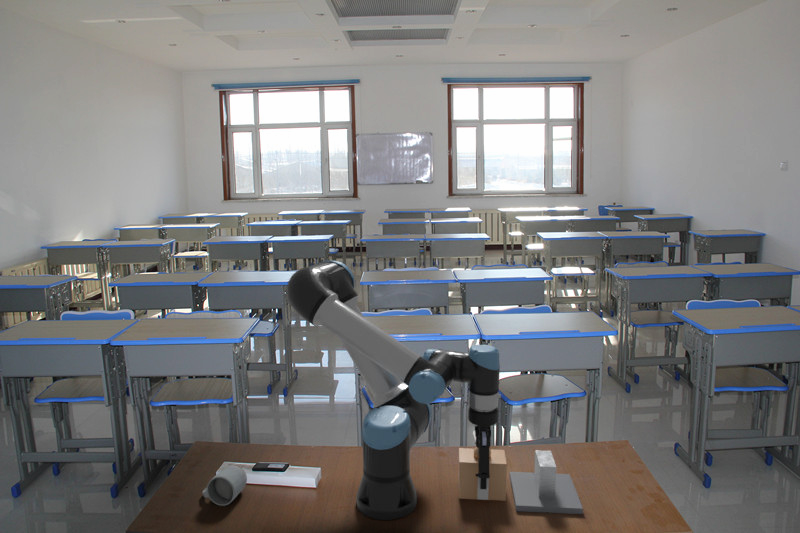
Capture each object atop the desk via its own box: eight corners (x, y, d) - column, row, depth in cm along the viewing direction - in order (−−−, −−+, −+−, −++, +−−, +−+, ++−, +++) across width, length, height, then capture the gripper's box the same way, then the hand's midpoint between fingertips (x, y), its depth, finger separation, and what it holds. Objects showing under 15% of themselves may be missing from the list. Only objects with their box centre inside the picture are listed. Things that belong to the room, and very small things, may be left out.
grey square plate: (516, 511, 141) (517, 473, 140) (509, 476, 157) (510, 442, 156) (582, 514, 140) (584, 476, 138) (569, 479, 156) (571, 444, 154)
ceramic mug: (249, 489, 151) (247, 462, 150) (235, 507, 143) (232, 479, 142) (212, 486, 153) (210, 459, 152) (196, 503, 145) (193, 475, 144)
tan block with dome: (458, 498, 147) (459, 456, 145) (458, 482, 154) (459, 442, 152) (505, 500, 146) (507, 458, 144) (503, 484, 153) (504, 444, 151)
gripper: (502, 427, 134) (499, 513, 138) (494, 389, 157) (492, 464, 161) (469, 425, 135) (468, 511, 139) (467, 388, 158) (465, 463, 162)
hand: (481, 486), depth 150 cm, fingers open, 11 cm apart
